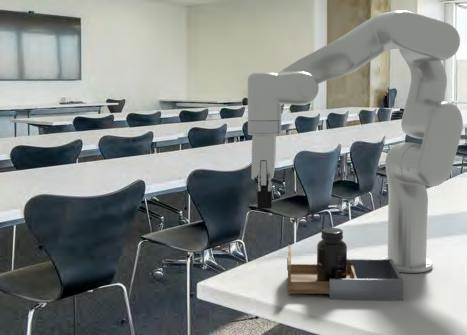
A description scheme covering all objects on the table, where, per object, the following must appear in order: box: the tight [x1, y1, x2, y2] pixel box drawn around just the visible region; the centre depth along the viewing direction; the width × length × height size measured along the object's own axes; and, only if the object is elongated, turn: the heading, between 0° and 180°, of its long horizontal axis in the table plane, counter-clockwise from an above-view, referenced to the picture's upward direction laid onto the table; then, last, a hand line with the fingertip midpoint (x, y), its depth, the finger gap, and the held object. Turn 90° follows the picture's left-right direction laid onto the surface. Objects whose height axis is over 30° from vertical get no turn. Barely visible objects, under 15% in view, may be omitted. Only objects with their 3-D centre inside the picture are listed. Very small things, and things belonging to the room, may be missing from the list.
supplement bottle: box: [316, 227, 348, 282], centre depth 134 cm, size 7×7×12 cm
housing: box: [328, 258, 405, 302], centre depth 134 cm, size 15×16×5 cm
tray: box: [286, 244, 357, 296], centre depth 135 cm, size 15×16×7 cm
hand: (264, 207), depth 134 cm, fingers closed
